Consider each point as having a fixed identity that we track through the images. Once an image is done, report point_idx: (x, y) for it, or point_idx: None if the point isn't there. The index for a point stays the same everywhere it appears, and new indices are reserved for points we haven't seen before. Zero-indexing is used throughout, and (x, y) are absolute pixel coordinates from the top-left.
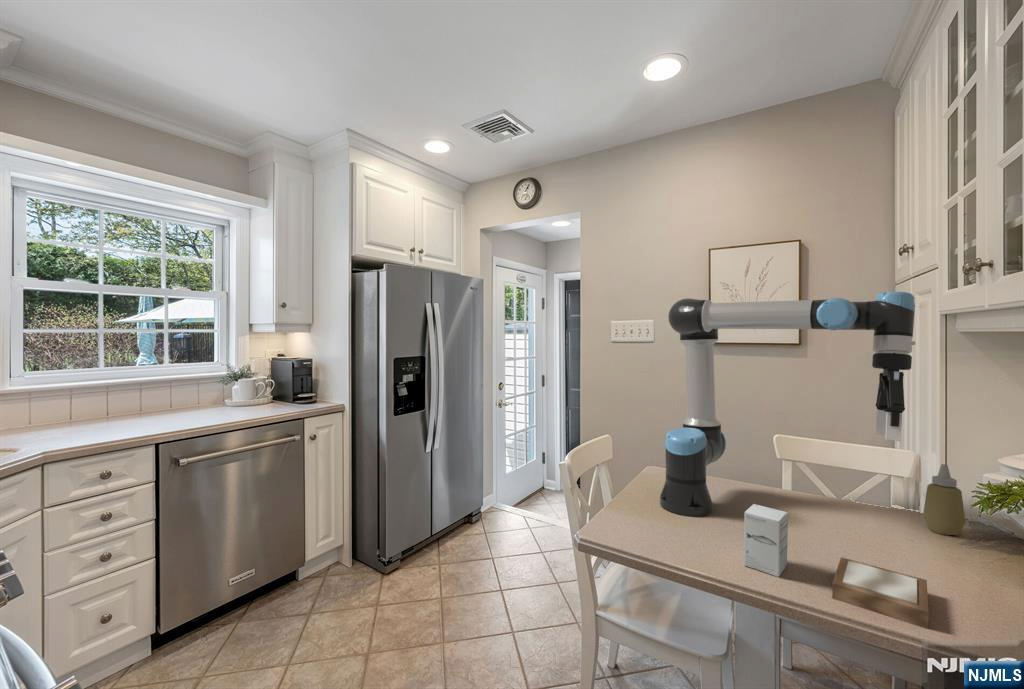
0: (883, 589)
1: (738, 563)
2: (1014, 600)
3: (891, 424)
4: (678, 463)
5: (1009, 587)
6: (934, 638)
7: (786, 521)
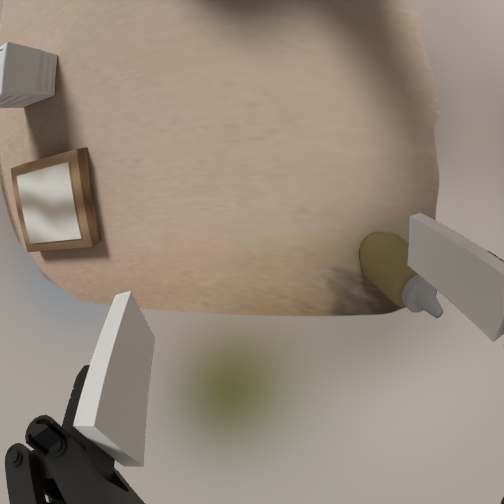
0: (30, 213)
1: None
2: (168, 310)
3: (80, 374)
4: None
5: (205, 309)
6: None
7: (2, 98)
